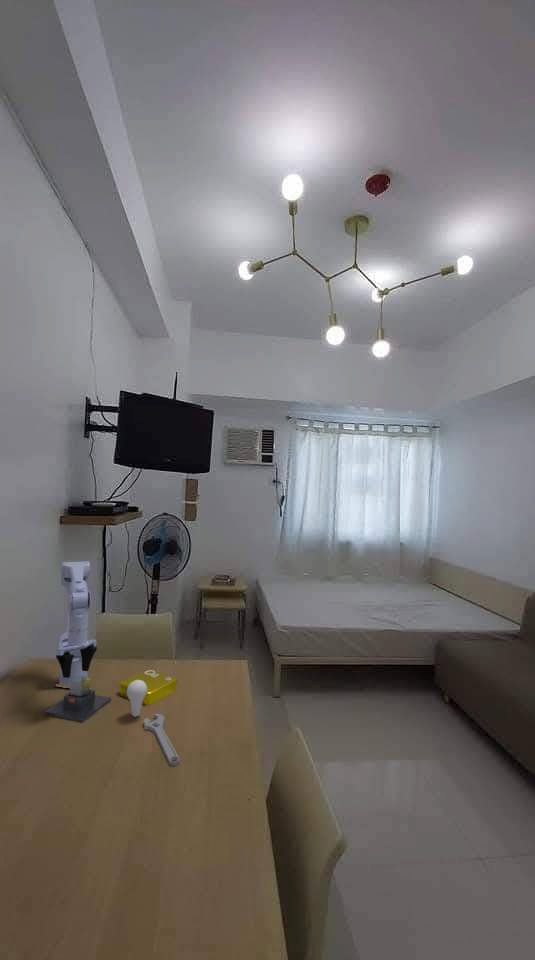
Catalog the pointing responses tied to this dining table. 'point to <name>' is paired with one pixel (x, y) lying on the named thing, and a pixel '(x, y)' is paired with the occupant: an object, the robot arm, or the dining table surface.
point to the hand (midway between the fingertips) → (76, 674)
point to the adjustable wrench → (162, 738)
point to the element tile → (151, 685)
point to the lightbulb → (136, 695)
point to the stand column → (80, 686)
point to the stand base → (78, 706)
